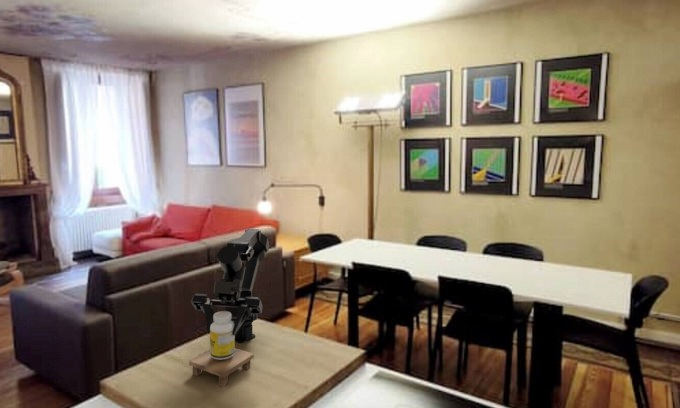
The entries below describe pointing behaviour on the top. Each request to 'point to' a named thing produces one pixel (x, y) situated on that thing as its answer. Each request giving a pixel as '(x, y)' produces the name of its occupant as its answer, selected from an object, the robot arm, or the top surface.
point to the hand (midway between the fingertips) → (220, 334)
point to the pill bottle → (222, 336)
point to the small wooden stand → (221, 364)
